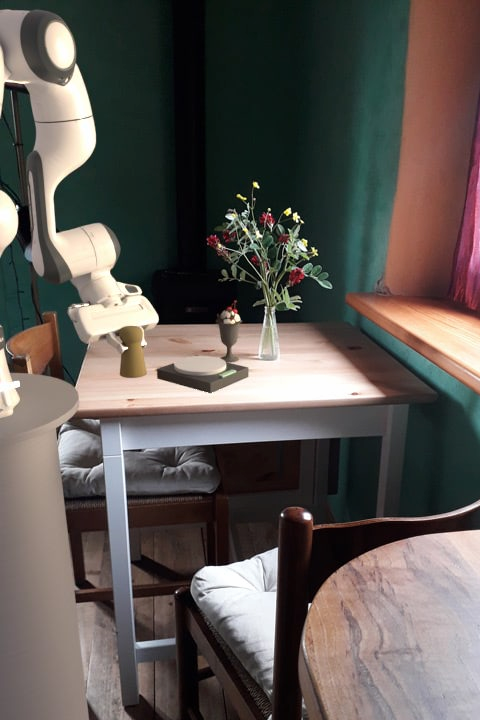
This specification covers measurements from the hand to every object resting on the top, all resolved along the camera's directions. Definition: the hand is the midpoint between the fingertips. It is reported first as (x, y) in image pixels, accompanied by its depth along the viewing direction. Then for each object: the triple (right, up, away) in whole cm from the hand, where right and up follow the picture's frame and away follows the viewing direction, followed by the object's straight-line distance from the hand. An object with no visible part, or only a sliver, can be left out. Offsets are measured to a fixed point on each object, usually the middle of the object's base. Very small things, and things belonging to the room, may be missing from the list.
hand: (134, 349), depth 138 cm
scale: (+15, -6, +6) cm, 17 cm away
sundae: (+20, -1, +20) cm, 28 cm away
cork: (-1, -6, +2) cm, 6 cm away
